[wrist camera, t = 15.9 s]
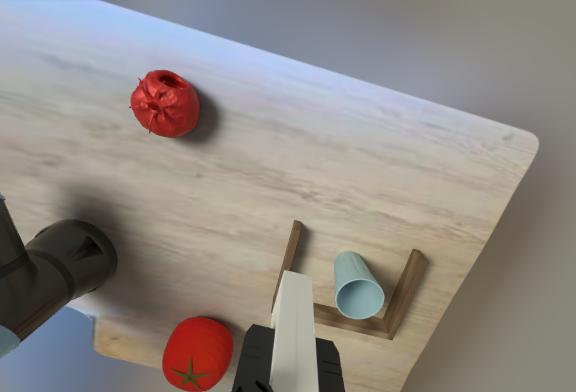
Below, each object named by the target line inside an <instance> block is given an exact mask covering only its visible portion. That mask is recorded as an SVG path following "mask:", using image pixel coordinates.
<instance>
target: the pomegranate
mask: <svg viewBox="0 0 576 392" xmlns="http://www.w3.org/2000/svg"><path fill="white" fill-rule="evenodd" d="M138 79H139V78H138ZM139 80H140V83H139V86H138V87H137V88H136V90H135V91H134V92H133V93H132V95H131V106H130V107H129V108H132V110H133V111H134V114H135V116H136V118H137V119H138V121H139V122H140V123H141V125H142V126H143V127H145V128H146V129H148V130H149V134H150V132H151V131H152V132H153V133H155V134H156V135H159V136H163V137H168V138H177V137H180V136H183V135H184V134H186V133H188V132H189V131H191V130H192V129H193V128H194V127H195V126H196V125H197V122H198V117H199V111H200V102H199V98H198V96H197V93H196V91H195V90H194V88H193V87H192V86H191V84H190V83H188V82H187V81H186V80H185V79H183V78H182V77H180V76H178V75H176V74H175V73H173V72H171V71H167V70H155V71H151V72H148V74H147V75H146V77H145V78H144V79H143V80H142V81H141V79H139Z"/></svg>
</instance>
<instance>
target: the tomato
mask: <svg viewBox="0 0 576 392" xmlns="http://www.w3.org/2000/svg"><path fill="white" fill-rule="evenodd" d="M232 351H233V340H232V336H231V333H230V332H229V330H228V329H227V328H226V327H225V326H223V325H222V324H220V323H218V322H216V321H214V320H212V319H208V318H204V317H194V318H189V319H187V320H185V321H183V322H181V323H180V324H179V325H178V326H177V327H176V329H175V330H174V331H173V333H172V335H171V337H170V339H169V341H168V343H167V346H166V348H165V351H164V355H163V361H162V364H163V372H164V375H165V377H166V379H167V380H168V382H170V383H171V384H172V385H174V386H175V387H177V388H179V389H182V390H185V391H190V392H202V391H207V390H209V389H211V388H212V387H213V386H214V385H216V384H217V383H218V382H219V381H220V380H221V378H222V377H223V375H224V374H225V372H226V370H227V368H228V366H229V363H230V361H231V357H232Z"/></svg>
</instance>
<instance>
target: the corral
mask: <svg viewBox="0 0 576 392" xmlns="http://www.w3.org/2000/svg"><path fill="white" fill-rule="evenodd" d="M300 232H301V222H300V221H295V220H294V224H293V228H292V231H291V235H290V239H289V242H288V246H287V250H286V253H285V257H284V261H283V265H282V268H281V272H280V276H279V279H278V283H277V287H276V291H275V294H274V298H273V304H272V311H271V313H273V308H274V305H275V301H276V297H277V294H278V290H279V286H280V283H281V279H282V275H283V272H284V270H287V271H290V267H291V264H292V260H293V257H294V253H295V250H296V246H297V243H298V239H299V235H300ZM428 262H429V261H428V260H427V259H426V258H425V257H424V255H423V254H422V253H421V252H420V251H419V250H416V249H413V250H412V253H411V255H410V257H409V260H408V262H407V264H406V266H405V269H404V271H403V273H402V276H401V278H400V280H399V283H398V285H397V287H396V290H395V292H394V294H393V296H392V299H391V301H390V303H389V306H388V308H387V310H386V313H385V315H384V317H383V319H381V318H376V317H372V316H371V317H369V318H365V319H352V318H349V317H347V316H345V315H343V314H342V313H341V312H340V311H339V310H338V308H333V307H329V306H325V305H320V304H316V303H313V310H314V322H315V323H319V324H324V325H328V326H332V327H337V328H341V329H345V330H350V331H354V332H359V333H363V334H367V335H372V336H376V337H380V338H385V339H389V340H393V338H394V336H395V334H396V331H397V329H398V327H399V325H400V323H401V321H402V318H403V316H404V314H405V312H406V310H407V308H408V306H409V303H410V301H411V299H412V297H413V295H414V293H415V290H416V288H417V286H418V284H419V282H420V280H421V277H422V275H423V273H424V271H425V269H426V267H427V264H428Z"/></svg>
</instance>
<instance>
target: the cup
mask: <svg viewBox="0 0 576 392" xmlns="http://www.w3.org/2000/svg"><path fill="white" fill-rule="evenodd" d="M334 274H335V303H336V306H337V308H338V310H339V311H340V312H341V313H342V314H343V315H345V316H347V317H349V318H352V319H365V318H369V317H371V316H373V315H375V314H376V313H377V312H378V311H379V310H380V309H381V308H382V306H383V304H384V292H383V290H382V288H381V287H380V285H379V284H378V282H377V281H376V279H375V278H374V276H373V275H372V273H371V272H370V270H369V269H368V267H367V266H366V264H365V263H364V261H363V260H362V258H361V257H360V256H359V255H358V254H357V253H354V252H344V253H342V254H340V255H339V256H338V257H337V258H336V260H335V263H334Z"/></svg>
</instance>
